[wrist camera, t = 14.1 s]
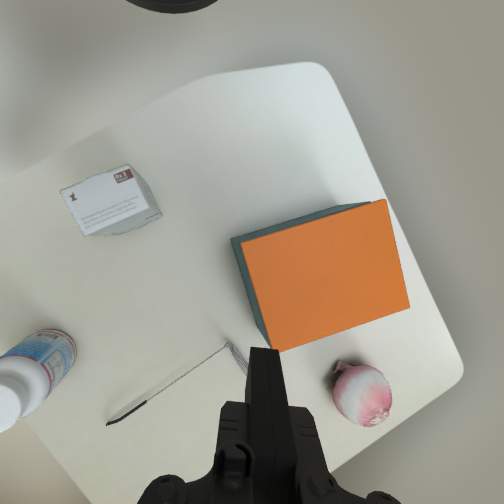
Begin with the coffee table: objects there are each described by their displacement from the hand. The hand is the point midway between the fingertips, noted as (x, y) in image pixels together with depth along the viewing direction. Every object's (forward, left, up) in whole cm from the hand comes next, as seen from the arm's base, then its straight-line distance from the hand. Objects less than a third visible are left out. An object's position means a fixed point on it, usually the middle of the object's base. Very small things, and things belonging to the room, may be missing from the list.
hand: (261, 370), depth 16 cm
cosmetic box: (-11, -9, -24) cm, 28 cm away
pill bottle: (+5, -21, -24) cm, 32 cm away
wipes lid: (-1, +11, -15) cm, 19 cm away
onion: (+17, +17, -24) cm, 34 cm away
